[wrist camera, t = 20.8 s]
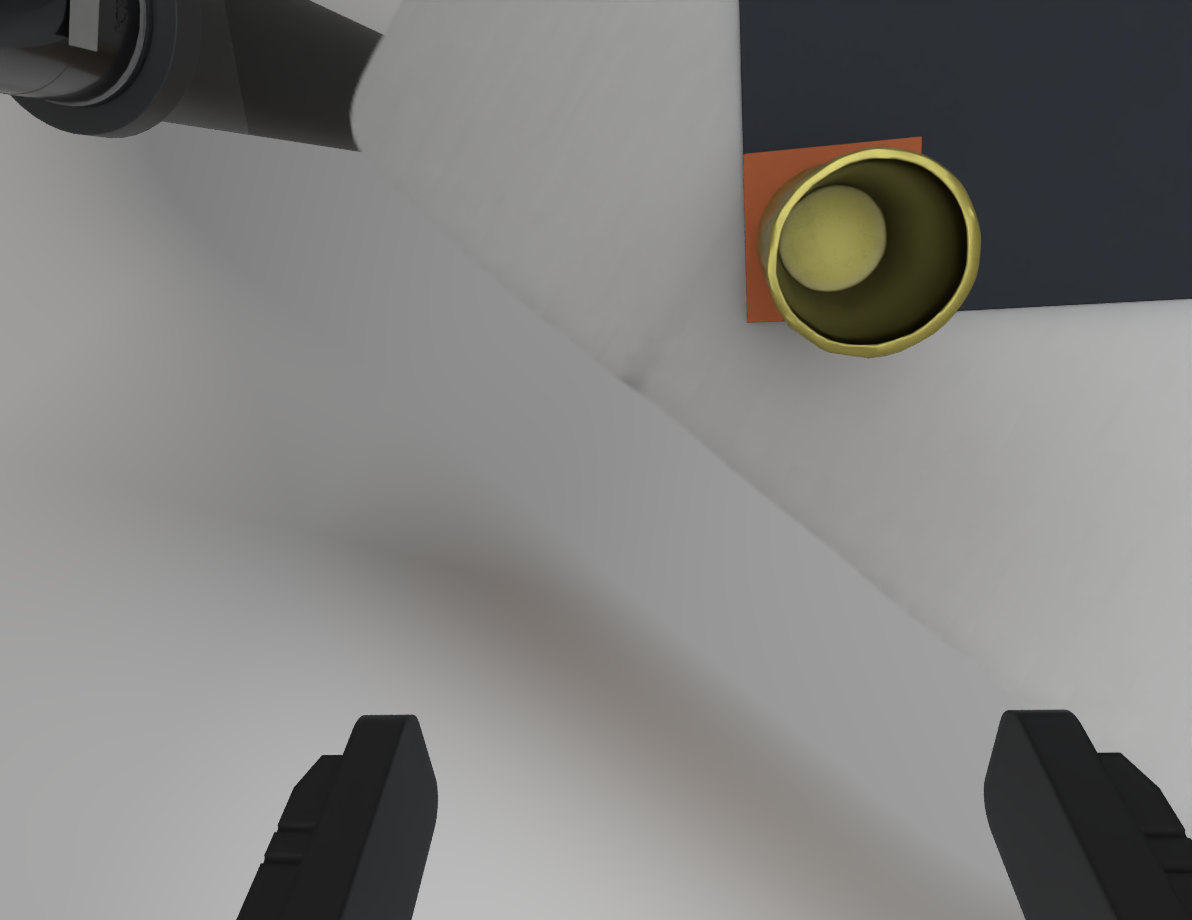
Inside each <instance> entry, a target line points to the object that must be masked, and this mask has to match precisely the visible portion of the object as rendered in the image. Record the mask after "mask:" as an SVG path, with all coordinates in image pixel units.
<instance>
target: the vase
mask: <svg viewBox="0 0 1192 920" xmlns="http://www.w3.org/2000/svg"><path fill="white" fill-rule="evenodd" d="M980 250H981V233H980V227H979V222H978V219H977V216H976V212H975V210H974V207H973V204H972V202H971V200H970V198H969V195H968V193H967V191H966V190H965V188H964V186H963V185H962V184H961V182H960V181H959V180H958V179H957V178H956V177H955V176H954V175H953V174H952V173H951V172H950V171H949V170H947V169H946V168H945V167H943V166H942V165H941V164H939V163H938V162H937V161H935V160H933V159H931V158H930V157H928V156H925V155H923V154H920V153H917V152H912V151H908V150H903V149H898V148H891V147H868V148H864V149H861V150H857V151H854V152H851V153H848V154H844V155H841V156H837V157H835V158H834V159H832V160H831V161H830V162H828V163H824V164H820V165H816V166H812V167H809V168H807V169H805V170H803V171H801V172H800V173H798V174H797V175H795V176H794V177H793V178H791V179H790V180H789V181H787V182H786V183H785V184H784V185H783V186H782V187H780V188H779V189H778V191H777V192H776V193H775V194H774V195H773V197H772V198H771V200H770V201H769V203H768V204H767V206H766V208H765V210H764V212H763V215H762V217H761V220H760V224H759V228H758V237H757V253H758V259H759V263H760V266H761V268H762V270H763V272H764V274H765V276H766V282H767V284H768V286H769V289H770V292H771V296H772V298H773V300H774V303H775V305H776V307H777V309H778V310H779V312H780V314H781V315H782V317H783V318H784V320H785V321H786V322H787V324H788V325H789V326H790V327H791V328H792V329H794V330H795V331H796V332H798V333H799V334H800V335H802V336H803V337H805V338H806V339H807V340H809V341H810V342H812V343H813V344H815V345H816V346H817V347H819V348H820V349H823V350H825V351H827V352H830V353H836V354H843V355H850V356H857V357H864V358H875V357H882V356H887V355H891V354H894V353H898V352H901V351H903V350H905V349H907V348H909V347H911V346H913V345H915V344H917V343H919V342H921V341H922V340H924V339H926V338H928V337H929V336H931V335H933V334H934V333H935V332H936V331H938V330H939V329H940V328H941V327H943V326H944V325H945V324H946V323H947V322H948V321H949V319H950V318H951V317H952V316H953V315H954V314H955V313H956V311H957V310H958V309H959V307H960V306H961V305H962V303H963V302H964V300H965V299H966V297H967V296H968V294H969V292H970V290H971V288H972V286H973V284H974V282H975V279H976V277H977V272H978V268H979V260H980Z"/></svg>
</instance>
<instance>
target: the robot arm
mask: <svg viewBox="0 0 1192 920" xmlns="http://www.w3.org/2000/svg"><path fill="white" fill-rule="evenodd" d="M152 26H153V8H152V0H0V93H3V94H9V95H16V96H22V97H29V98H36V99H42V100H46V101H48V102H51V103H55V104H59V105H65V106H72V107H82V108H85V107H94V106H99V105H102V104H105V103H107V102H110V101H112V100H114V99H115V98H117V97H118V96H120V95H121V94H122V93H123V92H124V91H125V90H127V88H128V87H129V86H130V85H131V84H132V83H133V81H134V80H135V79H136V77H137V76H138V74H139V72H140V71H141V69H142V67H143V64H144V62H145V60H146V57H147V54H148V51H149V46H150V42H151V36H152ZM984 802H985V809H986V815H987V819H988V823H989V827H990V829H991V832H992V835H993V837H994V840H995V843H996V845H997V848H998V850H999V853H1000V855H1001V858H1002V860H1003V863H1004V866H1005V868H1006V871H1007V873H1008V876H1009V878H1010V881H1011V884H1012V886H1013V889H1014V891H1015V894H1016V896H1017V899H1018V901H1019V904H1020V907H1021V909H1022V911H1023V914H1024V917H1025V919H1026V920H1192V840H1191V838H1187V837H1186V835H1185V829H1184V827H1183V825H1182V824H1181V822H1180V821H1179V819H1178V817H1177V816H1176V814H1175V813H1174V811H1173V809H1172V808H1171V806H1170V804H1169V803H1168V801H1167V800H1166V798H1165V796H1164V795H1163V793H1162V791H1161V790H1160V788H1159V787H1158V786H1157V785H1155V784H1154V783H1153V782H1152V781H1151V780H1150V779H1149V778H1148V777H1147V776H1146V775H1144V774H1143V773H1142V772H1141V771H1140V770H1139V769H1138V768H1137V767H1136V766H1134V765H1133V764H1132V763H1131V762H1130V761H1129V760H1128V759H1127V758H1126V757H1125V756H1123V755H1122V754H1121V753H1097V751H1096V750H1095V748H1094V746H1093V744H1092V743H1091V741H1090V739H1089V737H1088V735H1087V734H1086V732H1085V730H1084V728H1083V727H1082V725H1081V723H1080V722H1079V720H1078V719H1077V717H1076V716H1075V715H1074V714H1073V713H1072V712H1070V711H1068V710H1008V711H1005V712H1004V713H1003V715H1002V717H1001V720H1000V724H999V728H998V732H997V735H996V740H995V743H994V747H993V751H992V755H991V758H990V762H989V766H988V770H987V773H986V777H985V782H984ZM437 808H438V791H437V782H436V778H435V775H434V771H433V768H432V764H431V761H430V758H429V755H428V751H427V748H426V744H425V741H424V737H423V734H422V731H421V728H420V724H419V722H418V719H417V717H416V716H415V715H363V716H361V717H360V718H359V719H358V720H357V722H356V724H355V726H354V728H353V730H352V733H351V735H350V738H349V740H348V743H347V745H346V748H345V751H344V753H343V755H322V756H321V757H320V758H319V759H318V761H317V762H316V763H315V764H314V765H313V766H312V767H311V769H310V770H309V771H308V772H307V773H306V774H305V776H304V777H303V778H302V779H301V780H300V781H299V782H298V783H297V785H296V786H295V787H294V789H293V791H292V793H291V796H290V798H289V800H288V802H287V805H286V807H285V809H284V812H283V814H282V816H281V819H280V821H279V823H278V830H277V832H275V833H274V835H273V837H272V839H271V841H270V844H269V846H268V848H267V851H266V853H265V855H264V856H265V860H264V863H263V864H260V867H259V869H258V871H257V874H256V876H255V878H254V881H253V883H252V885H251V887H250V890H249V892H248V894H247V896H246V899H245V901H244V903H243V906H242V908H241V910H240V913H239V915H238V917H237V919H236V920H411V919H412V916H413V911H414V907H415V904H416V900H417V896H418V892H419V888H420V884H421V879H422V875H423V872H424V868H425V864H426V860H427V856H428V852H429V848H430V844H431V840H432V836H433V832H434V828H435V823H436V818H437Z"/></svg>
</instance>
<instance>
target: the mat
mask: <svg viewBox="0 0 1192 920" xmlns="http://www.w3.org/2000/svg"><path fill="white" fill-rule="evenodd" d="M739 3H740V43H741V83H742V122H743V170H744V209H745V249H746V288H747V323H752V322H771V321H785V320H784V318H783V317H782V315H781V314H780V312H779V310H778V309H777V307H776V305H775V303H774V300H773V298H772V296H771V292H770V289H769V286H768V284H767V282H766V276H765V274H764V272H763V270H762V268H761V266H760V263H759V259H758V253H757V237H758V228H759V224H760V220H761V217H762V215H763V212H764V210H765V208H766V206H767V204H768V203H769V201H770V200H771V198H772V197H773V195H774V194H775V193H776V192H777V191H778V189H779V188H780V187H782V186H783V185H784V184H785V183H786V182H787V181H789V180H790V179H791V178H793V177H794V176H795V175H797V174H798V173H800V172H801V171H803V170H805V169H807V168H809V167H812V166H816V165H820V164H824V163H828V162H830V161H831V160H832V159H834V158H835V157H837V156H841V155H844V154H848V153H851V152H854V151H857V150H861V149H864V148H868V147H891V148H898V149H903V150H908V151H912V152H917V153H920V154H923V155H925V156H928V157H930V158H931V159H933V160H935V161H937V162H938V163H939V164H941V165H942V166H943V167H945V168H946V169H947V170H949V171H950V172H951V173H952V174H953V175H954V176H955V177H956V178H957V179H958V180H959V181H960V182H961V184H962V185H963V186H964V188H965V190H966V191H967V193H968V195H969V198H970V200H971V202H972V204H973V207H974V210H975V212H976V216H977V219H978V222H979V227H980V233H981V250H980V260H979V268H978V272H977V277H976V279H975V282H974V284H973V286H972V288H971V290H970V292H969V294H968V296H967V297H966V299H965V300H964V302H963V303H962V305H961V306H960V307H959V309H958V310H957V311H965V310H984V309H1003V308H1022V307H1041V306H1060V305H1079V304H1098V303H1116V302H1135V301H1154V300H1173V299H1192V0H739Z"/></svg>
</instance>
